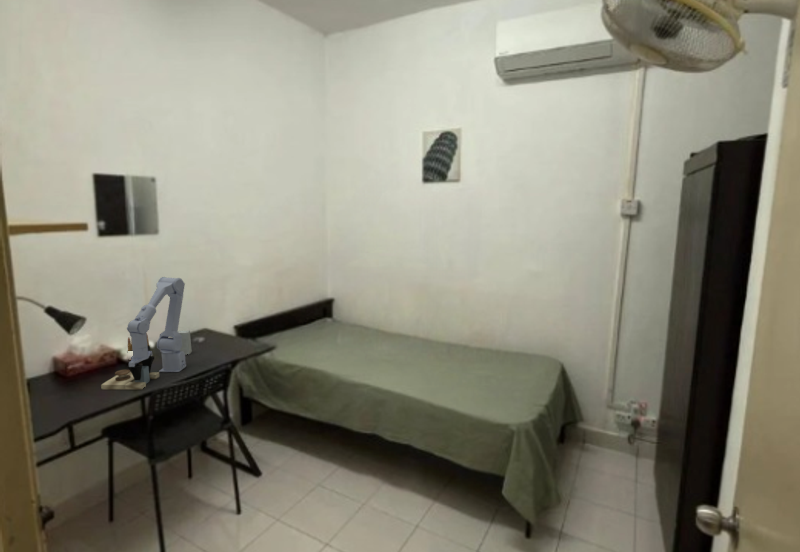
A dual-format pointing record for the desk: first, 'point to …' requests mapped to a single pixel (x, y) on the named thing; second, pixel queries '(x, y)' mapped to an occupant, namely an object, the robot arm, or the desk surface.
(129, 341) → the ammunition clip
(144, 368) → the tab peg
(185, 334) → the skincare box
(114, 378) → the notched board
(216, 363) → the desk surface
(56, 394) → the desk surface
